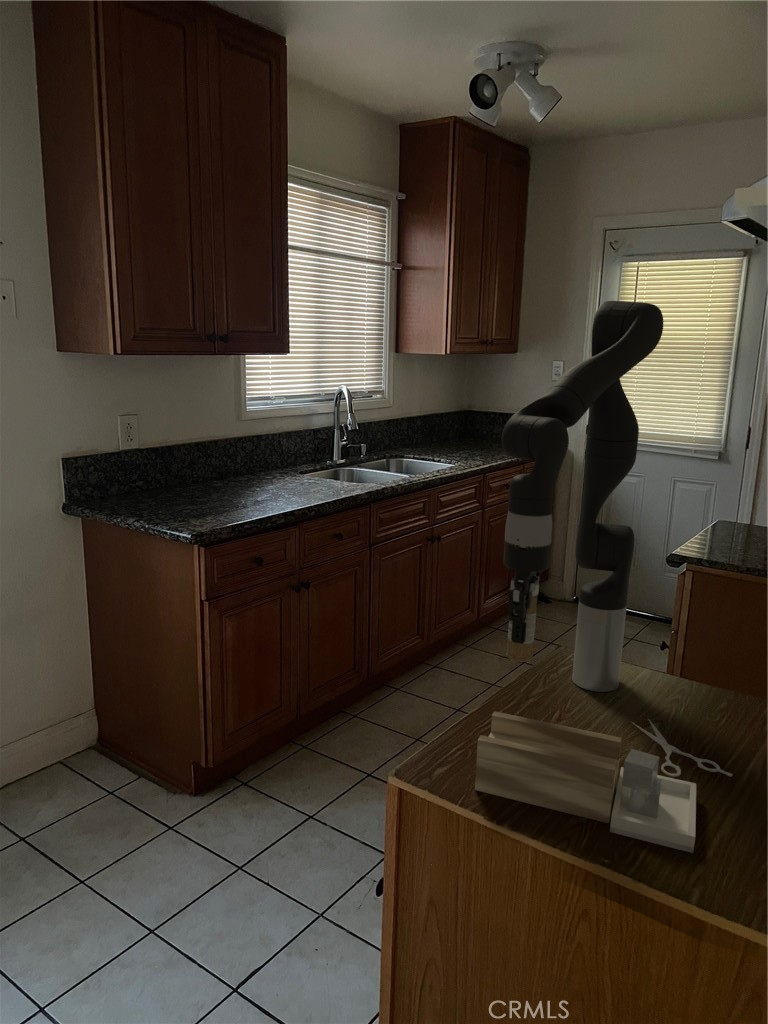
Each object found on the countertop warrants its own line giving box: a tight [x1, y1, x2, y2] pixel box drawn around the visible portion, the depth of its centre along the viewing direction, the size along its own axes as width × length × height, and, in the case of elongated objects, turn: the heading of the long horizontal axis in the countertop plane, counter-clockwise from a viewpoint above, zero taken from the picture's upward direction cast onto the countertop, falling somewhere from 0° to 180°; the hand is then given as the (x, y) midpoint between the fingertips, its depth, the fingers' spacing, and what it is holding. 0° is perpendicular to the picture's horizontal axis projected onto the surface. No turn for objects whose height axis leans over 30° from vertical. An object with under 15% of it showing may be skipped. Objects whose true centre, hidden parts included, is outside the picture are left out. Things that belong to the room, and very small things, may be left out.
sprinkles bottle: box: [505, 583, 540, 663], centre depth 127 cm, size 5×5×13 cm
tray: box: [609, 766, 697, 854], centre depth 111 cm, size 14×11×2 cm
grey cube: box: [622, 748, 660, 794], centre depth 110 cm, size 4×4×4 cm
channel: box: [474, 711, 622, 824], centre depth 116 cm, size 10×20×8 cm, turn 68°
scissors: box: [629, 718, 733, 778], centre depth 131 cm, size 11×1×20 cm
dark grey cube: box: [628, 779, 662, 818], centre depth 111 cm, size 4×4×4 cm
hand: (521, 636), depth 127 cm, fingers closed on sprinkles bottle, 4 cm apart
